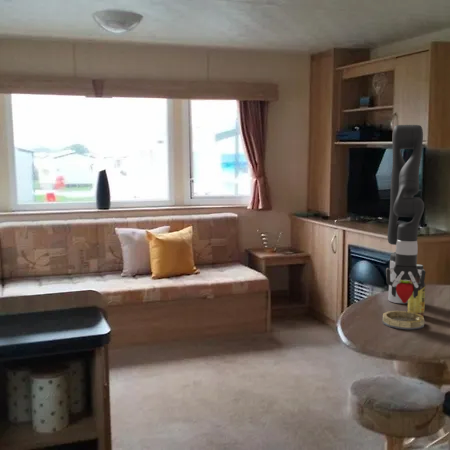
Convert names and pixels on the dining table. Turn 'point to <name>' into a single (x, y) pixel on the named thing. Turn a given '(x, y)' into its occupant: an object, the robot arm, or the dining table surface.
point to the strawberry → (404, 290)
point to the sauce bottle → (419, 302)
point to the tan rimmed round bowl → (403, 320)
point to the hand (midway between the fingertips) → (404, 296)
